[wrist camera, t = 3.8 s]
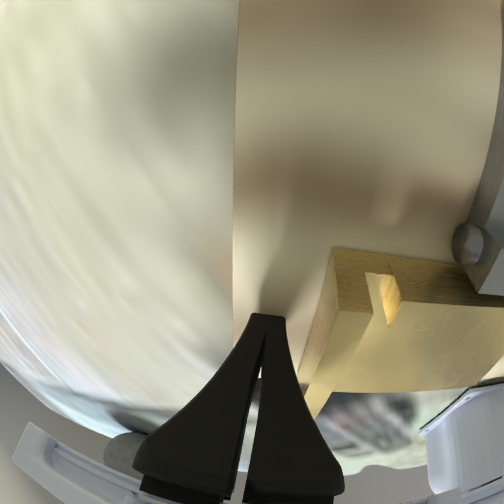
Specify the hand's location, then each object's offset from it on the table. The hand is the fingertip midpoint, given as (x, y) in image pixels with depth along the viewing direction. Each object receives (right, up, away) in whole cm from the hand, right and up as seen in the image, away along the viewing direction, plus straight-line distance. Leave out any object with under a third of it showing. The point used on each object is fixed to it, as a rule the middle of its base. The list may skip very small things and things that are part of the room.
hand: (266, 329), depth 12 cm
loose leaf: (+8, -1, 0) cm, 8 cm away
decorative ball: (-16, -24, +22) cm, 36 cm away
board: (+12, +4, -3) cm, 13 cm away
